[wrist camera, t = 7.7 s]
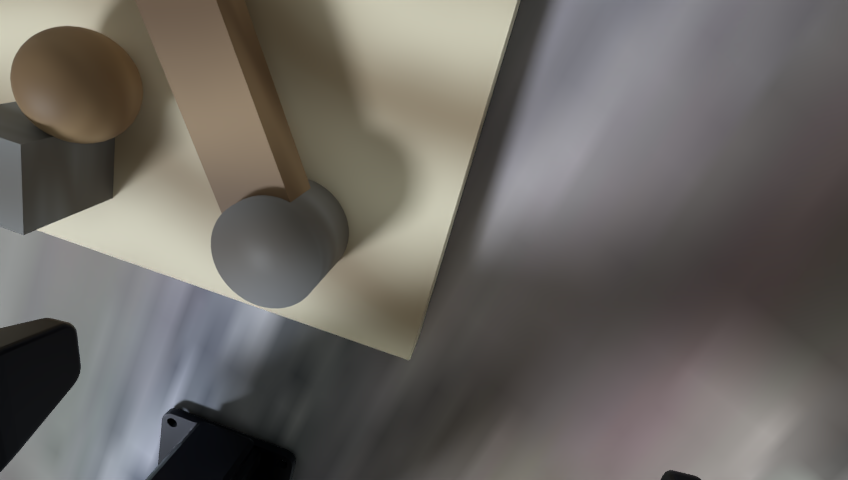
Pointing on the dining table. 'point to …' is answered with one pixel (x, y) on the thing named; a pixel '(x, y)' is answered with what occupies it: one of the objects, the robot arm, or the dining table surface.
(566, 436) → the dining table surface
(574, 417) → the dining table surface
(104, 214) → the nutcracker base
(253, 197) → the lever
